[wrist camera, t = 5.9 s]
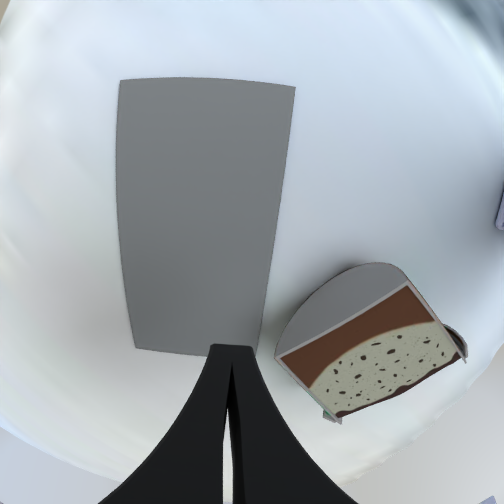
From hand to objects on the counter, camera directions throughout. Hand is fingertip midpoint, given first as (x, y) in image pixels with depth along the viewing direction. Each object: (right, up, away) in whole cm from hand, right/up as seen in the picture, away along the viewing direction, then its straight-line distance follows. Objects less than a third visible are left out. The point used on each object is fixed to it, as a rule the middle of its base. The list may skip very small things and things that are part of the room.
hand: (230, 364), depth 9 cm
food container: (+6, +1, +8) cm, 10 cm away
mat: (-3, +4, +9) cm, 10 cm away
